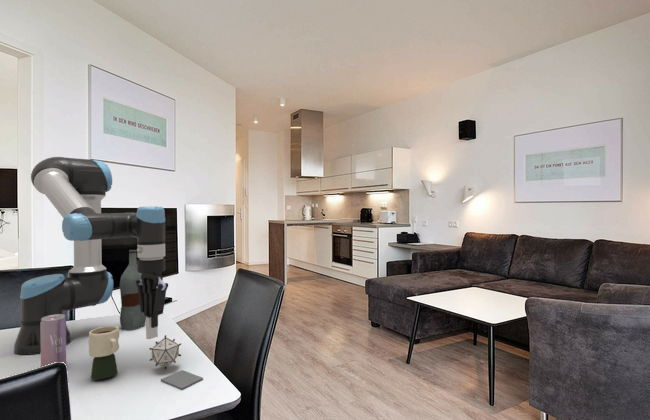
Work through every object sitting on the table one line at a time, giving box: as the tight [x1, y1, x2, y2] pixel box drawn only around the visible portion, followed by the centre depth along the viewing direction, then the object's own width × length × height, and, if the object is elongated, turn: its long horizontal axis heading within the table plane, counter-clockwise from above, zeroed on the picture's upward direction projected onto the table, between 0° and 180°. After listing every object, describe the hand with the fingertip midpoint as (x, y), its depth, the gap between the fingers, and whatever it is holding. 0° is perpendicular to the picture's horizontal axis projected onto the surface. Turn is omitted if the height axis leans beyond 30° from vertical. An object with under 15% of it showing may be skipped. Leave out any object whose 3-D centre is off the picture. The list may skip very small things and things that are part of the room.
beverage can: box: [40, 313, 67, 368], centre depth 105 cm, size 6×6×15 cm
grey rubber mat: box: [160, 369, 204, 391], centre depth 97 cm, size 9×7×1 cm
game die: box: [148, 334, 182, 370], centre depth 104 cm, size 9×8×10 cm
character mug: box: [88, 325, 120, 381], centre depth 100 cm, size 11×7×13 cm, turn 60°
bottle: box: [119, 249, 146, 331], centre depth 142 cm, size 9×9×30 cm
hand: (152, 337), depth 108 cm, fingers closed
